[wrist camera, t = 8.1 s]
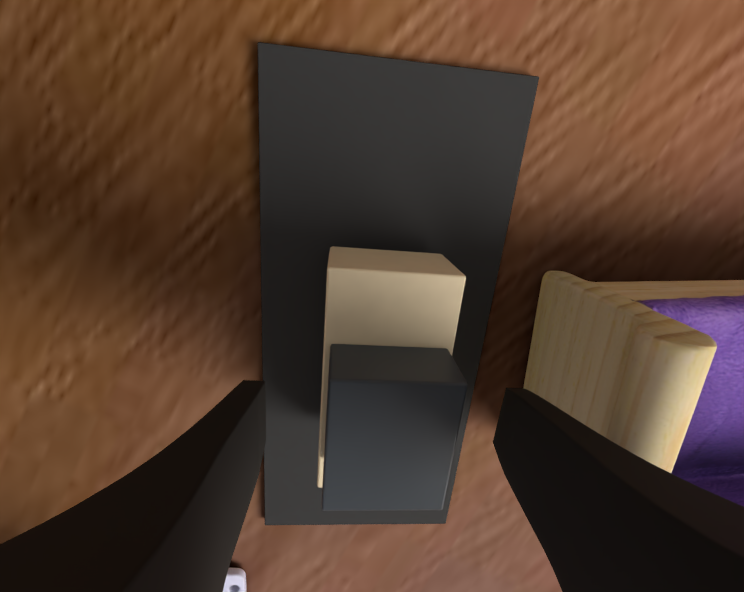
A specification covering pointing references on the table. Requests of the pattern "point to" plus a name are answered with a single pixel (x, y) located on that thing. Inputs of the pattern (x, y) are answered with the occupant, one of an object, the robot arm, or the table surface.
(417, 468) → the toy car
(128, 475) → the robot arm
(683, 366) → the toy sofa
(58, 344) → the table surface
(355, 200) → the mat
